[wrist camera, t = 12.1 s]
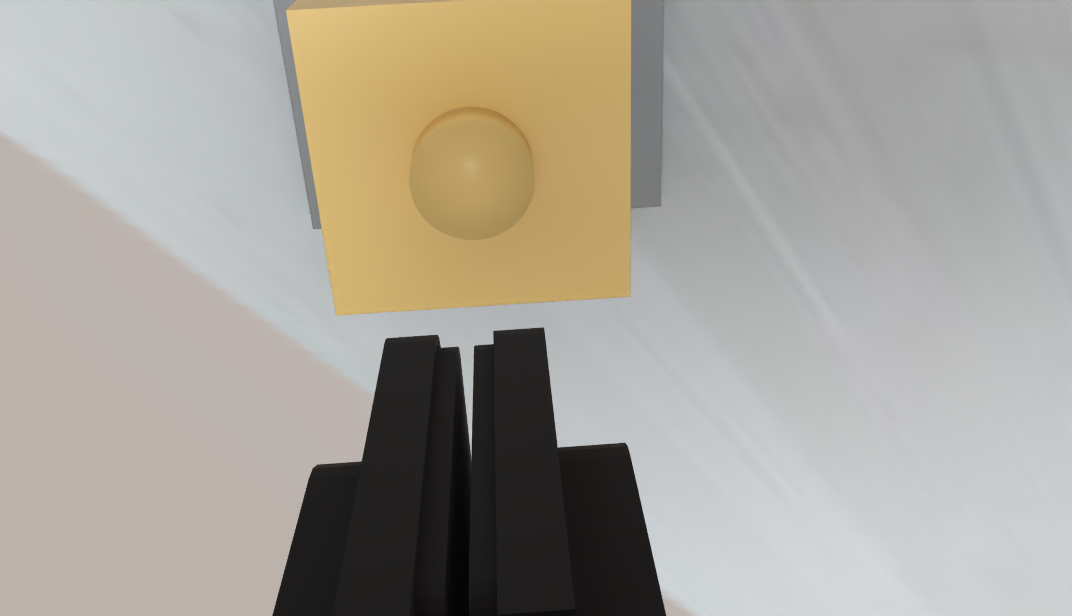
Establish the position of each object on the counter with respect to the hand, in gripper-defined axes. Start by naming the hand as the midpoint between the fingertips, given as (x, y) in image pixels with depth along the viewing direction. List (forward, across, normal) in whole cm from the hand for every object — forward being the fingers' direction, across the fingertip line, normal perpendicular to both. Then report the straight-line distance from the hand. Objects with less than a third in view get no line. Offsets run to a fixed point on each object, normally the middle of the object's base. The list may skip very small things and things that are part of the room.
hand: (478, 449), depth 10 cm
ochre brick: (+16, 0, 0) cm, 16 cm away
